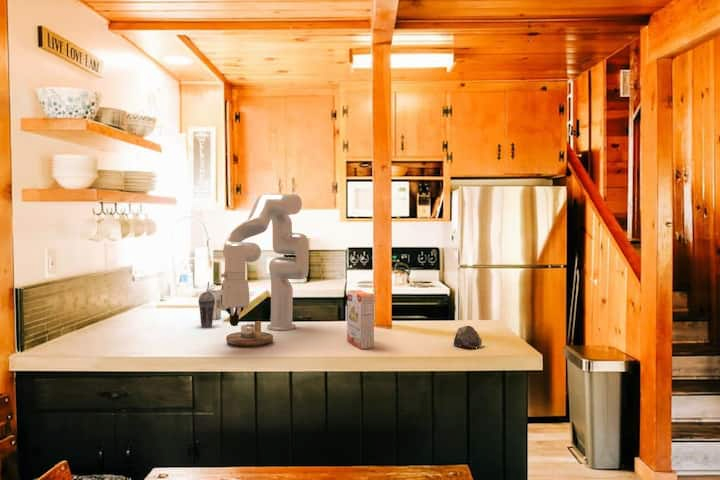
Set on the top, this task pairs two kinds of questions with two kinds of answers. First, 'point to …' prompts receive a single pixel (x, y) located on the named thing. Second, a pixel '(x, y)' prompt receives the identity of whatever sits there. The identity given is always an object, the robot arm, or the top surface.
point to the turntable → (259, 338)
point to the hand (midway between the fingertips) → (234, 325)
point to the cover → (248, 331)
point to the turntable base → (250, 345)
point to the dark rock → (467, 337)
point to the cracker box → (360, 319)
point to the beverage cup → (206, 308)
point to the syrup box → (216, 302)
